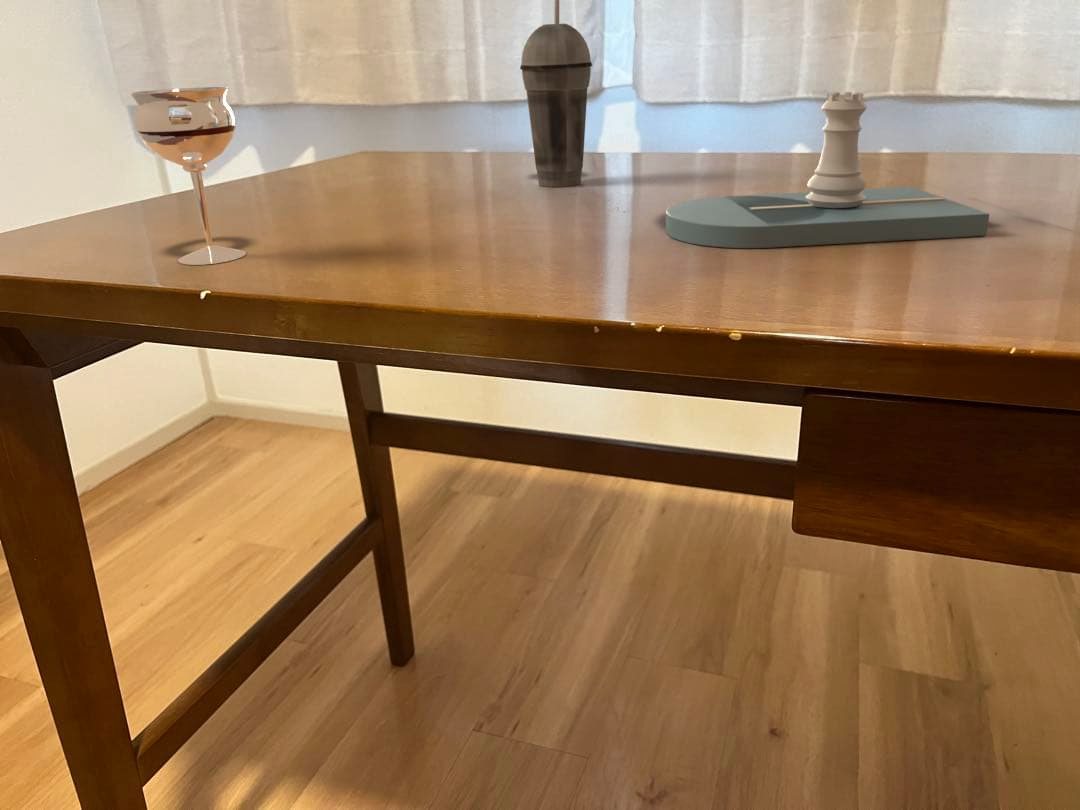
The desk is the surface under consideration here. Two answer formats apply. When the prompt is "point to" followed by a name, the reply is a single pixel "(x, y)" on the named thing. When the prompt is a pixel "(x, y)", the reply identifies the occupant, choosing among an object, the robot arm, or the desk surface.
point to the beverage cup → (557, 100)
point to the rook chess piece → (839, 155)
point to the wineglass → (189, 144)
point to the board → (821, 220)
